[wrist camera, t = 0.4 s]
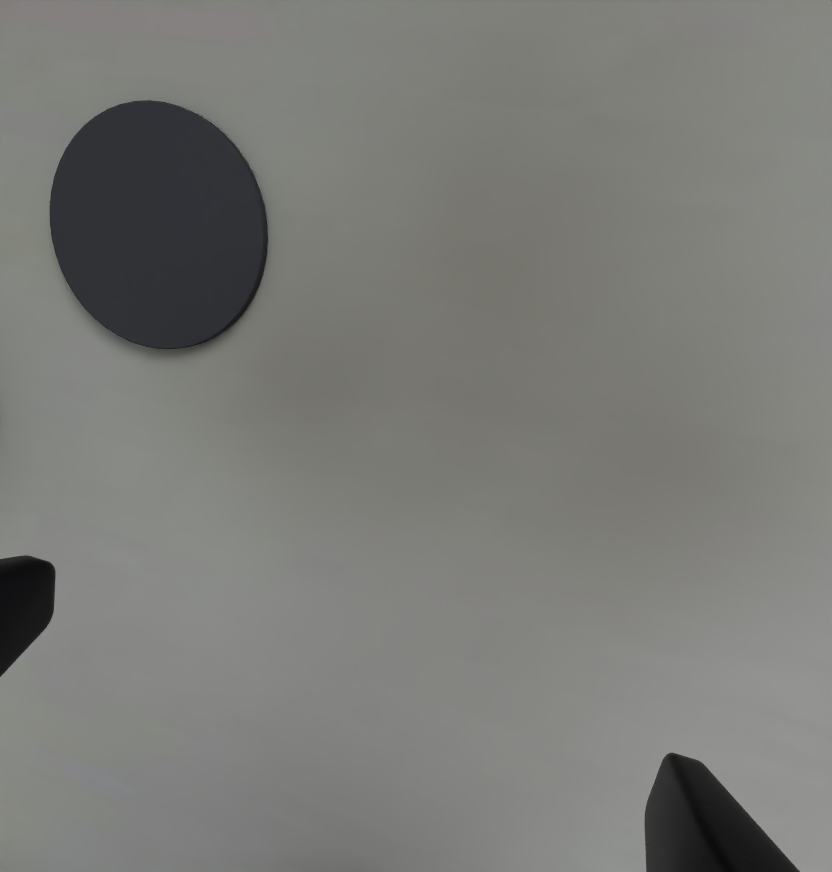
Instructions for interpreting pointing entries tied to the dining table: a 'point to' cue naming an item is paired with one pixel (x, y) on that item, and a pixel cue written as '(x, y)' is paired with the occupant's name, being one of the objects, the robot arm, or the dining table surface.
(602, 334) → the dining table surface
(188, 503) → the dining table surface
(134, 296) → the coaster
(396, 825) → the dining table surface
